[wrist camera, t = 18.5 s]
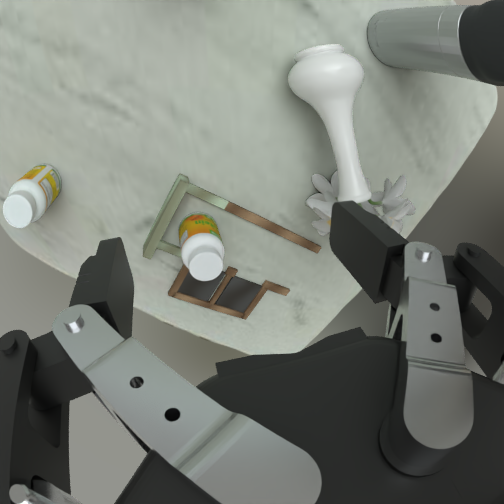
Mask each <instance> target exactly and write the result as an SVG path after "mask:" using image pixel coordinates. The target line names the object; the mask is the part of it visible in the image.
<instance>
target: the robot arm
mask: <svg viewBox="0 0 504 504" xmlns="http://www.w3.org/2000/svg"><path fill="white" fill-rule="evenodd" d="M367 36H368V42H369V45H370V48H371V50H372V52H373V53H374V54H375V56H376V57H377V58H378V59H379V60H380V61H381V62H382V63H384V64H385V65H388V66H391V67H398V68H407V69H414V70H421V71H428V72H434V73H440V74H446V75H451V76H456V77H461V78H467V79H471V80H476V81H480V82H484V83H488V84H492V85H496V86H504V0H491V1H488V2H486V3H484V4H482V5H474V6H471V5H470V6H469V5H468V6H467V5H461V6H460V5H454V6H430V7H415V8H404V9H395V10H387V11H381V12H379V13H377V14H375V15H374V16H373V17H372V18H371V20H370V22H369V25H368V31H367ZM329 239H330V246H331V249H332V251H333V253H334V254H335V255H336V257H337V258H338V259H339V260H340V261H341V263H342V264H343V265H344V266H345V267H346V269H347V270H348V271H349V272H350V273H351V275H352V276H353V277H354V278H355V279H356V281H357V282H358V283H359V284H360V286H361V287H362V288H363V289H364V290H365V292H366V293H367V294H368V295H369V297H370V298H371V299H372V300H373V302H374V303H375V304H376V303H379V302H382V301H386V300H388V301H389V302H390V307H389V310H388V319H387V328H386V335H385V337H379V336H366V335H365V333H364V332H363V330H362V329H361V327H358V328H355V329H351V330H348V331H345V332H341V333H338V334H334V335H331V336H328V337H326V338H324V339H322V340H320V341H319V342H317V343H315V344H313V345H311V346H309V347H307V348H305V349H304V350H302V351H300V352H297V353H293V354H269V355H251V356H247V357H242V358H237V359H232V360H228V361H223V362H218V363H216V368H217V373H218V374H217V375H215V376H212V377H210V378H208V379H207V380H205V381H203V382H202V383H200V384H199V385H198V386H196V387H195V386H193V385H192V384H190V383H189V382H188V381H187V380H185V379H184V378H182V377H181V376H180V375H179V374H178V373H176V372H175V371H174V370H172V369H171V368H170V367H168V366H167V365H166V364H165V363H163V361H161V360H160V359H159V358H158V357H156V356H155V355H154V354H153V353H152V352H150V351H149V350H148V349H147V348H146V347H144V346H143V345H142V344H141V343H140V342H139V341H137V340H136V339H135V338H133V337H132V315H133V298H134V282H133V277H132V273H131V269H130V266H129V263H128V259H127V256H126V252H125V249H124V245H123V242H122V239H121V238H120V237H117V238H112V239H107V240H102V241H100V243H99V246H98V250H97V253H96V255H95V256H90V257H89V258H88V259H87V260H86V261H85V262H84V263H83V264H82V266H81V268H80V272H79V277H78V278H77V281H76V285H75V288H74V291H73V294H72V298H71V301H70V305H69V308H67V309H65V310H64V311H62V312H61V313H60V314H59V315H58V316H57V317H56V318H55V320H54V322H53V325H52V330H53V331H51V332H49V333H47V334H45V335H42V336H40V337H37V338H35V339H32V340H30V338H29V337H28V335H27V333H26V332H24V331H22V330H13V331H10V332H8V333H6V334H5V335H3V336H2V337H1V338H0V504H82V503H81V502H80V501H79V500H77V499H76V498H74V497H73V496H71V490H70V474H69V403H70V400H73V399H75V398H78V397H80V396H83V395H85V394H88V393H90V392H92V393H93V395H94V396H95V397H96V398H97V399H98V401H99V402H100V403H101V404H102V405H103V407H104V408H105V409H106V410H107V411H108V412H109V413H110V415H111V416H112V417H113V418H114V419H115V420H116V421H117V423H119V425H120V426H121V427H122V428H123V429H124V430H125V431H126V432H127V433H128V435H129V436H130V437H131V438H132V439H133V440H134V441H135V442H136V444H137V445H139V447H140V448H141V449H142V450H143V451H144V452H145V453H146V454H147V455H146V457H145V458H144V460H143V462H142V463H141V464H140V466H139V467H138V469H137V470H136V472H135V474H134V475H133V477H132V478H131V480H130V481H129V483H128V484H127V486H126V487H125V489H124V490H123V492H122V493H121V495H120V496H119V497H118V499H117V500H116V502H115V503H114V504H504V267H503V266H502V265H501V264H500V263H498V262H497V261H496V260H495V259H494V258H493V257H492V256H491V255H489V254H488V253H487V252H486V251H485V250H484V249H482V248H481V247H479V246H477V245H475V244H471V243H460V244H459V245H458V246H457V249H456V252H455V255H454V256H442V254H441V253H440V251H439V250H438V249H437V248H435V247H434V246H432V245H430V244H427V243H423V242H411V243H409V242H408V241H407V240H406V239H404V238H403V237H402V236H401V235H400V234H398V233H397V232H396V231H395V230H394V229H392V228H390V226H389V225H388V224H386V223H384V221H383V220H382V219H380V218H379V217H378V216H377V215H375V214H372V213H370V212H368V211H366V210H365V209H363V208H362V207H361V206H360V205H358V204H357V203H356V202H354V201H353V200H350V201H342V202H335V203H334V204H333V206H332V213H331V226H330V238H329ZM477 289H479V290H480V291H481V292H482V293H483V294H484V295H485V296H486V297H487V298H488V299H489V300H490V302H491V304H492V314H491V316H490V318H489V320H487V319H486V318H485V317H484V316H483V315H482V313H481V312H480V311H479V310H478V309H477V308H476V307H475V306H474V305H473V303H472V300H473V298H474V296H475V293H476V291H477ZM464 346H465V347H466V349H467V350H468V351H469V353H470V354H471V355H472V357H473V358H474V359H475V361H476V362H477V363H478V365H479V366H480V368H481V369H482V370H483V372H484V373H485V374H486V376H487V377H488V378H487V377H485V376H482V375H480V374H477V373H475V372H473V371H470V370H469V369H467V368H466V366H465V358H464V357H465V356H464Z"/></svg>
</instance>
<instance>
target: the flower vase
mask: <svg viewBox="0 0 504 504" xmlns="http://www.w3.org/2000/svg"><path fill="white" fill-rule="evenodd" d="M344 51H345V49H344V47H343V46H342V45H339V44H326V45H319V46H315V47H311V48H308V49H305V50H302V51H300V52H298V53H297V54H296V55H295V56H294V60H295V61H296V62H297V63H296V64H295V65H294V66H293V67H292V68H291V70H290V72H289V75H288V84H289V86H290V88H291V90H292V91H293V92H294V93H295V94H296V95H297V96H298V97H299V98H301V99H302V100H304V101H305V102H307V103H308V104H310V105H311V106H312V107H313V108H314V109H315V110H316V112H317V113H318V114H319V116H320V117H321V119H322V121H323V122H324V125H325V127H326V129H327V132H328V135H329V138H330V142H331V145H332V149H333V153H334V156H335V160H336V165H337V171H335V172H334V174H333V175H332V178H331V184H330V183H329V181H328V180H327V179H326V178H325V177H324V176H322V175H320V174H317V173H315V174H313V175H312V182H313V185H314V186H315V187H316V189H317V190H318V191H320V192H321V193H316V194H314V195H312V196H310V197H309V198H308V199H307V200H306V205H307V206H309V207H310V208H312V209H313V210H314V211H315V213H316V214H317V215H318V216H320V217H321V220H316V221H313V222H312V225H313V227H314V228H316V229H317V230H318V233H319V234H320V235H322V236H324V235H327V234H328V233H330V226H331V213H332V206H333V204H334V203H335V202H342V201H350V200H353V201H354V202H356V203H357V204H358V205H360V206H361V207H362V208H363V209H365V210H366V211H368V212H370V213H372V214H375V215H377V216H378V217H379V218H380V219H382V220H383V221H384V223H386V224H388V225H389V226H390V228H392V229H394V230H395V231H396V232H397V233H398V234H400V232H401V231H402V218H403V217H404V216H405V215H413V214H414V213H415V206H414V204H413V203H412V202H411V201H409V200H408V198H407V199H405V198H397V197H399V196H401V195H402V194H403V192H404V190H405V188H406V183H407V179H406V176H405V175H402V176H400V177H399V179H398V180H397V181H396V183H395V185H394V186H393V187H392V183H391V181H390V180H389V179H388V178H386V180H385V186H384V192H375V193H372V192H371V185H370V181H369V179H368V178H366V177H364V174H363V171H362V168H361V164H360V160H359V154H358V149H357V143H356V138H355V132H354V126H353V106H354V100H355V97H356V95H357V93H358V91H359V89H360V88H361V86H362V83H363V80H364V68H363V65H362V64H361V62H360V61H359V60H357V59H356V58H355V57H353V56H352V55H349V54H346V53H344ZM381 205H383V212H384V214H385V215H383V216H380V215H379V213H378V212H377V211H376V209H375V208H374V207H378V206H381ZM372 206H373V207H372Z"/></svg>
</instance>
